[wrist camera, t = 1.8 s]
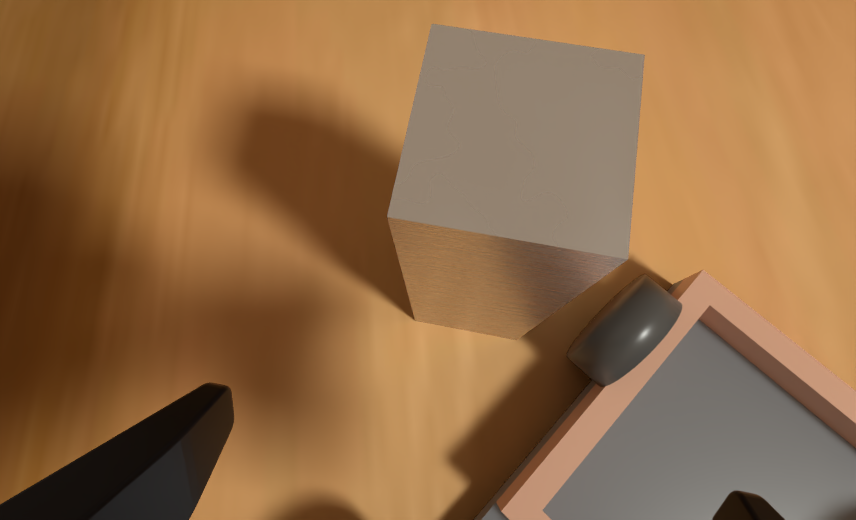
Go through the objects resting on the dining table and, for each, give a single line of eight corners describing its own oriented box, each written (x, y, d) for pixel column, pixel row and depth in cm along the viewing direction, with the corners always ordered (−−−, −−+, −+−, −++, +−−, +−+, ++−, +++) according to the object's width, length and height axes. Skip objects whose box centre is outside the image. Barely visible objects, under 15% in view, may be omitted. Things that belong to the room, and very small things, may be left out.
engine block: (516, 340, 21) (628, 259, 9) (415, 320, 21) (386, 217, 9) (530, 243, 22) (644, 54, 10) (434, 226, 22) (431, 23, 10)
